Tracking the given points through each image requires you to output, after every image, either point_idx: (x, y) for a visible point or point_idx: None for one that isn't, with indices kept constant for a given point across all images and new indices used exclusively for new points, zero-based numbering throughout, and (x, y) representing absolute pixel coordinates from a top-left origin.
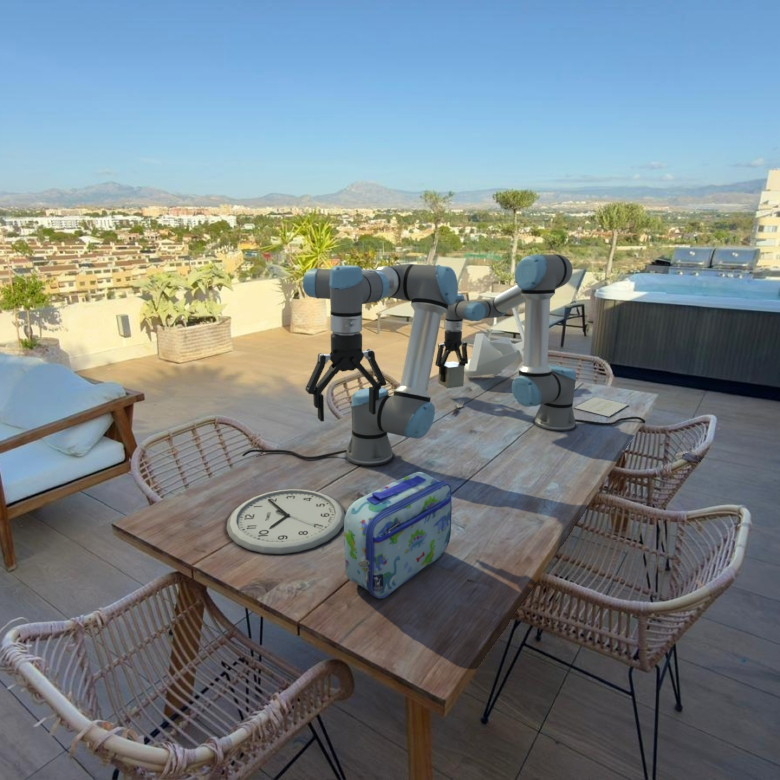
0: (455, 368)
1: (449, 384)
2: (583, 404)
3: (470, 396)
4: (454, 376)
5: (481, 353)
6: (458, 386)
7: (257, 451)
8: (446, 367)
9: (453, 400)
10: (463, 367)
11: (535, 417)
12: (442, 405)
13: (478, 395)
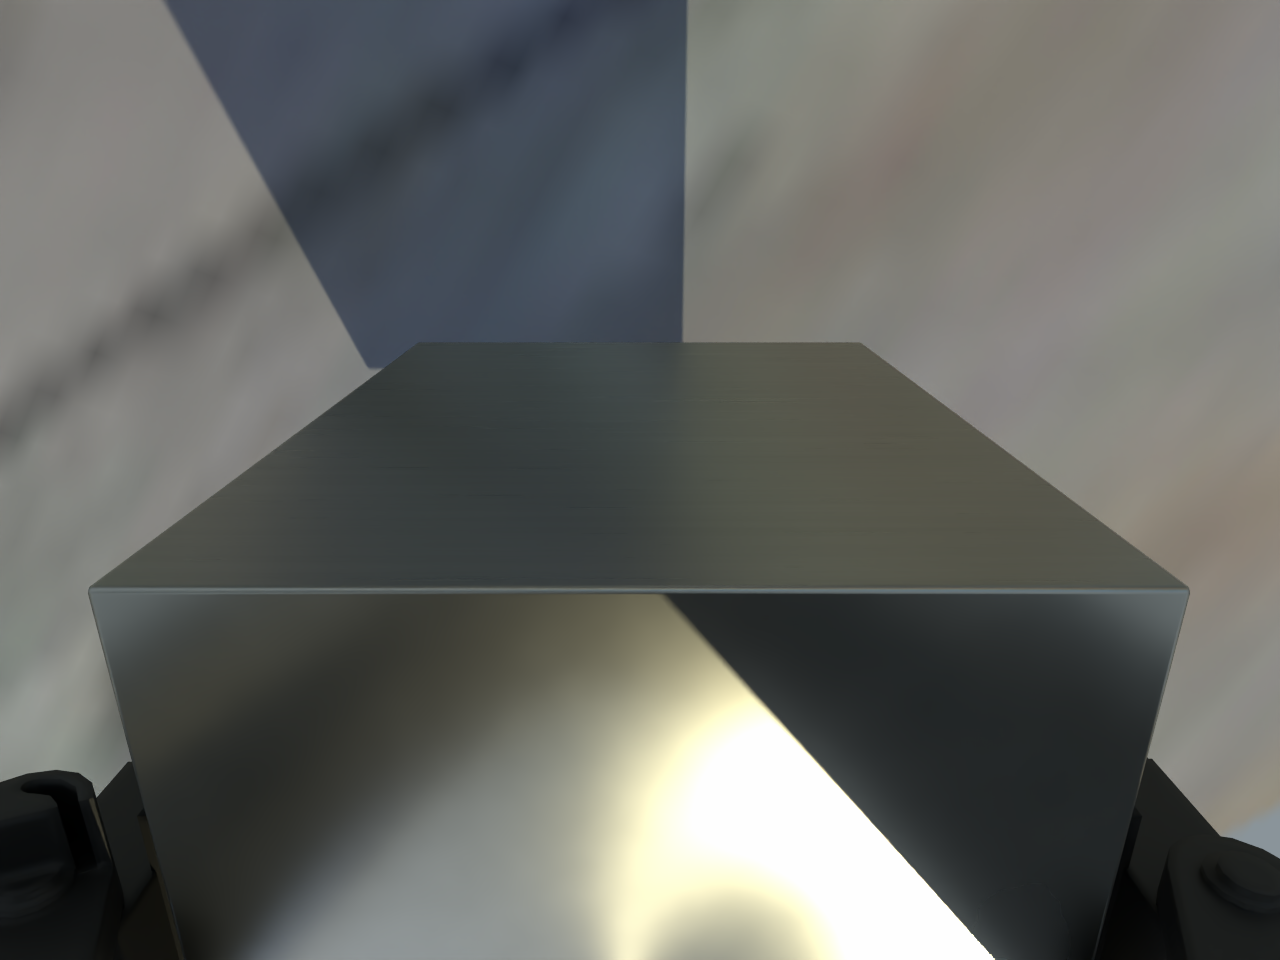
0: (708, 541)
1: (838, 359)
2: None
3: (280, 360)
4: (706, 422)
5: None
6: (556, 345)
7: None
8: (1109, 757)
9: (685, 270)
10: (200, 547)
11: None
12: (1039, 79)
13: (112, 358)
